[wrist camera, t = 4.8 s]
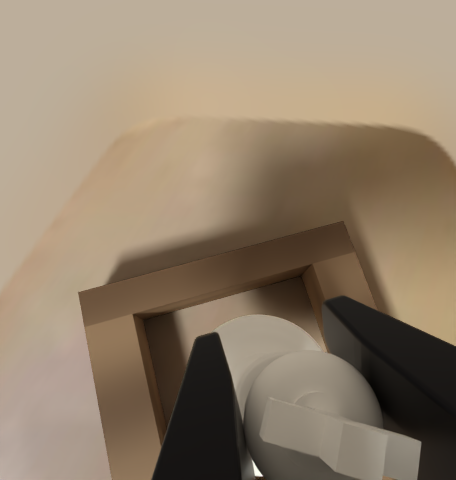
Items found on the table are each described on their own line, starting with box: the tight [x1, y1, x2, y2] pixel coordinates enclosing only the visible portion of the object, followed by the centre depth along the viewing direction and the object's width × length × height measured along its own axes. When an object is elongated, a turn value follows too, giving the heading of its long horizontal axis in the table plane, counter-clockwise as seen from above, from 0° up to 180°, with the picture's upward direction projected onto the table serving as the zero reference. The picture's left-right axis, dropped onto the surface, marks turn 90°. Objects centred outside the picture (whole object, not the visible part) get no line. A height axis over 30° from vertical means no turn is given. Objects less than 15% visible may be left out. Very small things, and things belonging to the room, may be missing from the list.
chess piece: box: [211, 314, 421, 480], centre depth 9 cm, size 5×5×10 cm
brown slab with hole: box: [78, 221, 397, 480], centre depth 17 cm, size 18×12×2 cm
